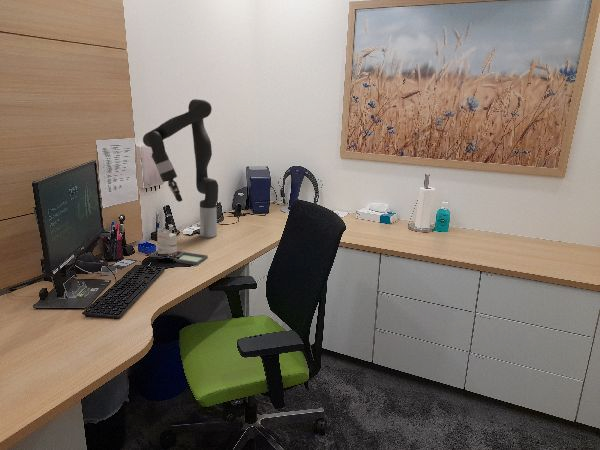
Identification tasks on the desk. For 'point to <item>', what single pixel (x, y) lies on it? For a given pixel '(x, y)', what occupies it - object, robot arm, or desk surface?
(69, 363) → the desk surface
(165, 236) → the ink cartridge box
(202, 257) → the jack panel
